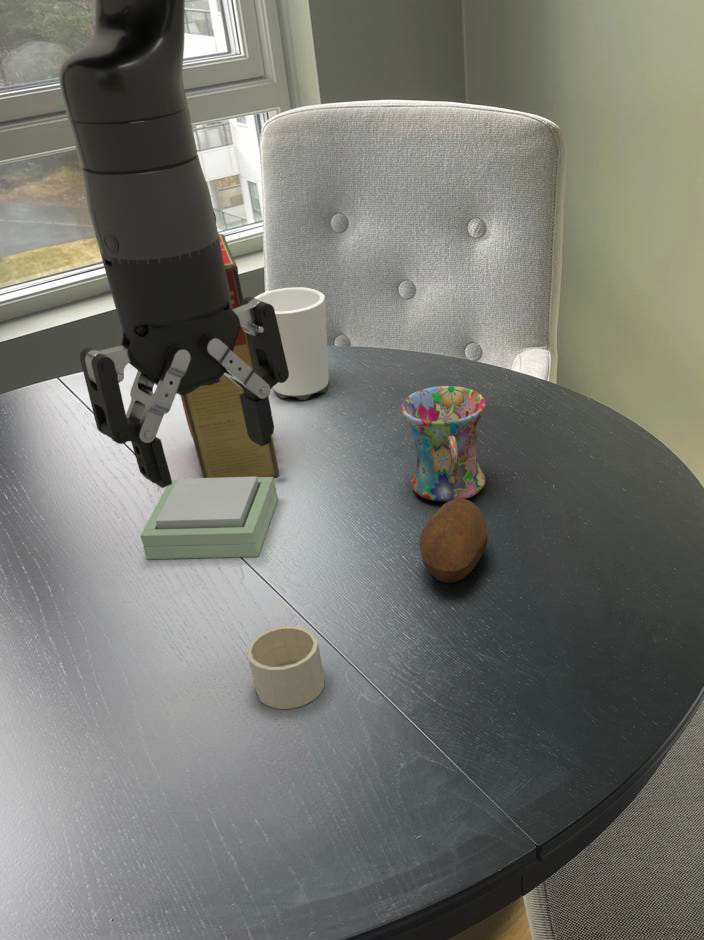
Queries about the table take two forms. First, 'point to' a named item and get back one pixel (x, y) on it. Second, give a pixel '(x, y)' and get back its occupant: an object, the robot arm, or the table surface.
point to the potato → (453, 540)
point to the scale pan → (208, 503)
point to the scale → (213, 531)
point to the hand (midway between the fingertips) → (212, 462)
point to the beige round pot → (286, 667)
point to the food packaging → (227, 411)
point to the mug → (445, 441)
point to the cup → (301, 339)
